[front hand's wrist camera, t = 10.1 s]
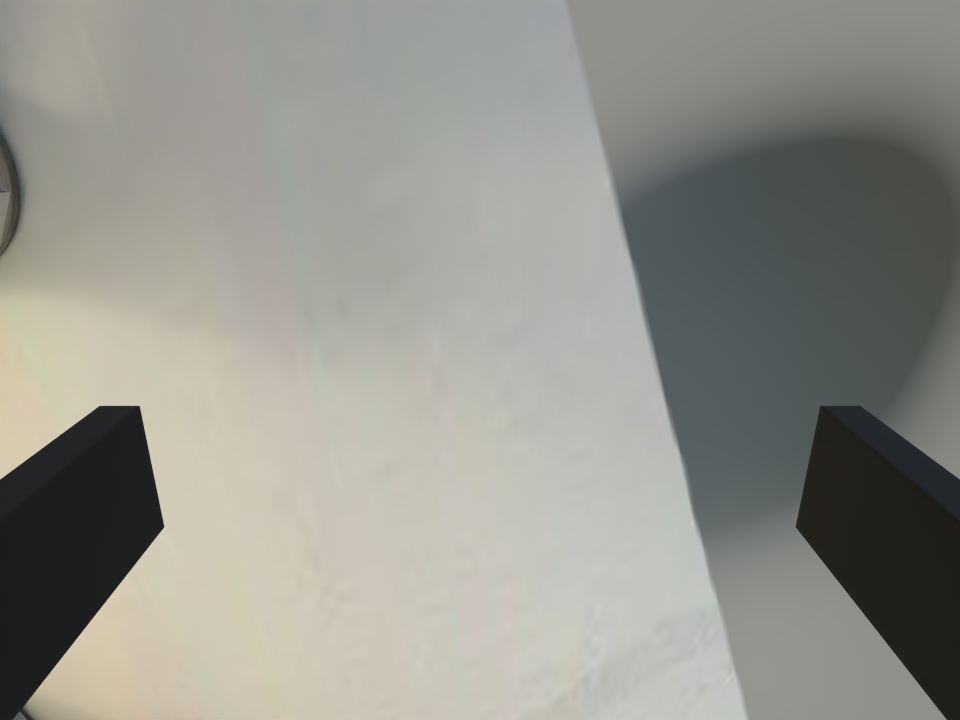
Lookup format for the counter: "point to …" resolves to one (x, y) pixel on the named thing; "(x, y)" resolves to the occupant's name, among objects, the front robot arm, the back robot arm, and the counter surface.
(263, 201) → the counter surface
